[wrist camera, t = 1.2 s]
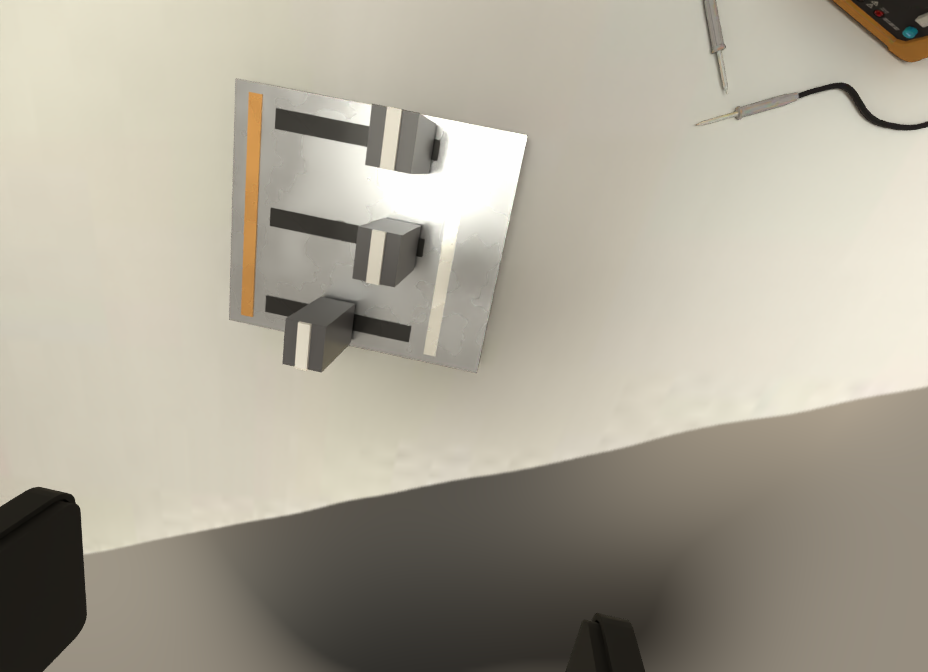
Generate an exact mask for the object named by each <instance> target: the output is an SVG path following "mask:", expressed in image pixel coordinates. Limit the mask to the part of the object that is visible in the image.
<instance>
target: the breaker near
mask: <svg viewBox="0 0 928 672" xmlns="http://www.w3.org/2000/svg"><path fill="white" fill-rule="evenodd" d="M435 131H436V123H435V122H433V121H431V120H430V119H428V118H427V117H425V116H423V115H422V114H420V113H417V112H411V111H406V110H402V109H398V108H393V107H388V106H387V107H386V106H381V105H375V104H372V107H371V116H370V125H369V134H368V142H367V151H366V160H365V165H367V166H372V167H377V168H381V169H386V170H391V171H397V172H402V173H407V174H429V169H430V163H431V156H432V150H433V144H434V137H435Z"/></svg>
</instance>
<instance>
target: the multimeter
mask: <svg viewBox="0 0 928 672" xmlns="http://www.w3.org/2000/svg"><path fill="white" fill-rule="evenodd" d="M833 1H834V2H835V3H836V4H837V5H839V6H840V7H841V8H842V9H843V10H845V11H846V12H847V13H848V14H849V15H851V16H852V17H853V18H854V19H855V20H857V21H858V22H859V23H860V24H861V25H863V26H864V27H865V28H866V29H867V30H869V31H870V32H871V33H872V34H873V35H875V36H876V37H877V38H878V39H879V40H881V41H882V42H883V43H884V44H885V45H887V46H888V50H889V51H891V52H892V53H893V54H895V55H896V56H897V57H899V58H900V59H902V60H904V61H907V62H916V61H919V60H921V59H924V58H928V0H833ZM704 5H705V10H706V16H707V21H708V27H709V32H710V37H711V43H712V48H713V49H712V54H713V53H716V52H717V55H718V61H719V66H720V72H721V77H722V83H723V87H724V89H725V91H726V94H727V87H728V84H727V79H726V73H725V68H724V62H723V57H722V52H721V50H723V49H725V48H726V46H725V45H724V43H723V37H722V32H721V26H720V21H719V15H718V10H717V4H716V0H704ZM835 88H840V89H844V90H845V91H846V92H848V93H849V95H850V96H851V97H852V99H853V101H854V102H855V104H856V105H857V107H858V109H859V110H860V112H861V113H862V114H863V115H864V117H865V118H866V119H867V120H869V121H870V122H872V123H874V124H876V125H879V126H882V127H885V128H891V129H896V130H916V129H921V128H926V127H928V122H925V123H921V124H917V125H901V124H896V123H890V122H886V121H883V120H880V119H878V118H877V117H875V116H873V115H872V114H871V113H870V112H869V110H868V109H867V108H866V106H865V105H864V103H863V101H862V100H861V98H860V97H859V95H858V93H857V92H856V91H855V89H854V88H853V87H851V86H850V85H849V84H845V83H833V84H829V85H825V86H821V87H817V88H814V89H810V90H807V91H804V92H801V93H791V94H785V95H781V96H778V97H774V98H771V99H767V100H764V101H760V102H757V103H753V104H750V105H746V106H743V107H740V106H738V107H736V110H735V112H733V113H729V114H726V115H722V116H719V117H715V118H712V119H708V120H705V121H702V122H700V123H698V124H697V125H706V124H709V123H713V122H716V121H720V120H723V119H727V118H730V117H734V116H736V118H737V119H738V120H739V119H741V118H742V117H745V116H748V115H752V114H755V113H759V112H762V111H766V110H770V109H773V108H777V107H780V106H784V105H787V104H789V103H791V102H794V101H796V100H797V99H798V98H801V97H804V96H807V95H810V94H814V93H817V92H821V91H825V90H829V89H835Z"/></svg>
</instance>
